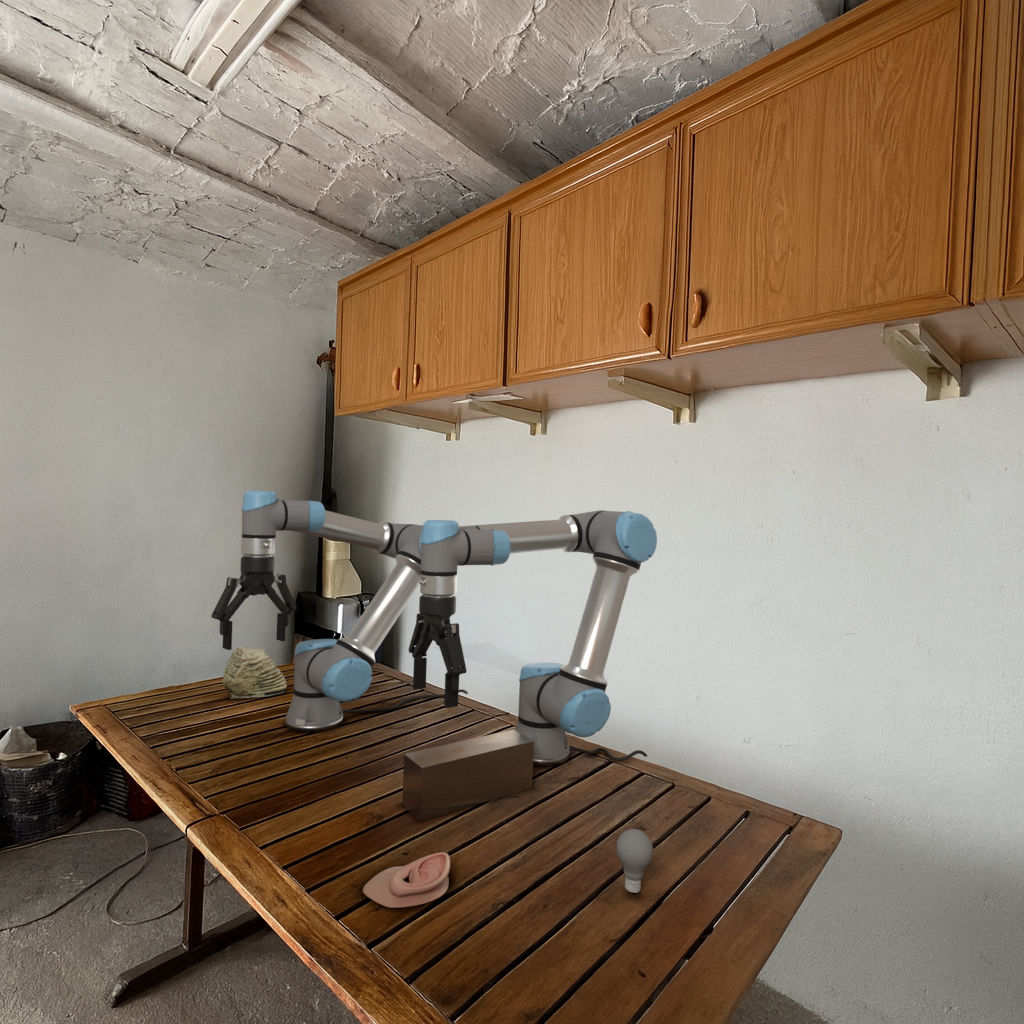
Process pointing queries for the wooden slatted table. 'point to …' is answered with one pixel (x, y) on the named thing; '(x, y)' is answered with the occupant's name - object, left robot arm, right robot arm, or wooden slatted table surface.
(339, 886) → the wooden slatted table surface
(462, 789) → the box
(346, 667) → the left robot arm
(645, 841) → the light bulb
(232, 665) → the fossil
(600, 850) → the wooden slatted table surface
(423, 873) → the anatomical model
